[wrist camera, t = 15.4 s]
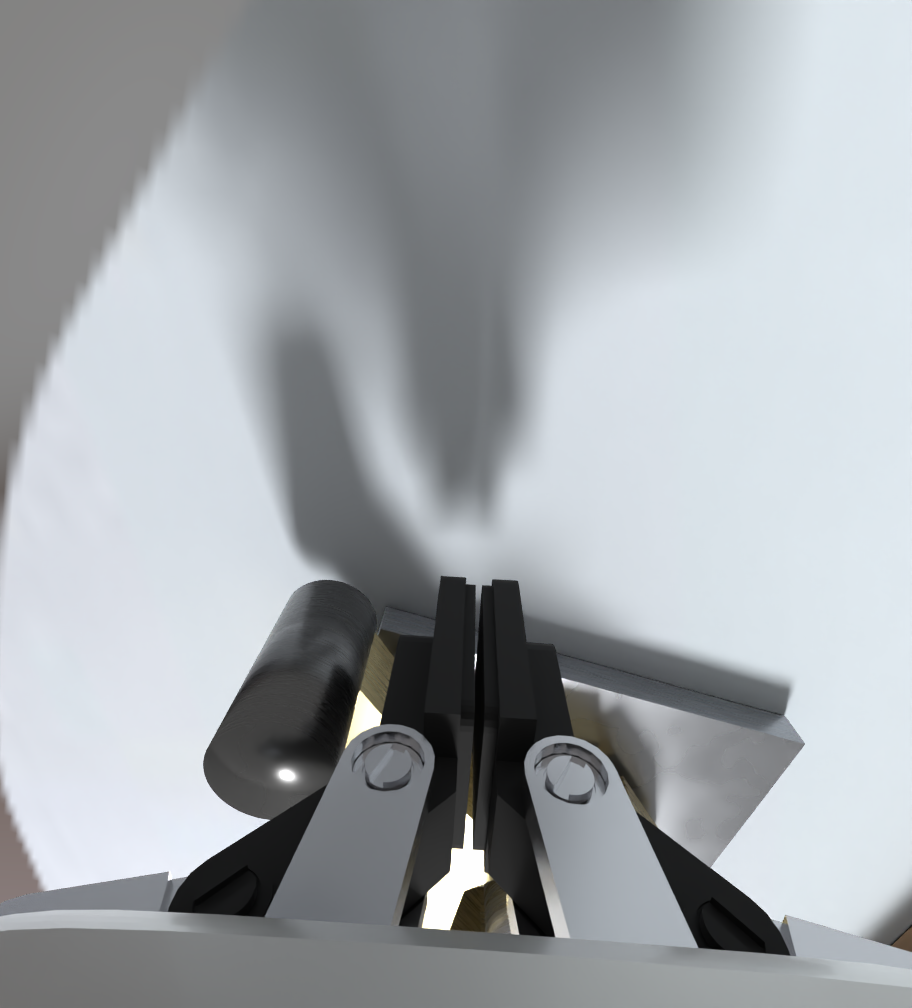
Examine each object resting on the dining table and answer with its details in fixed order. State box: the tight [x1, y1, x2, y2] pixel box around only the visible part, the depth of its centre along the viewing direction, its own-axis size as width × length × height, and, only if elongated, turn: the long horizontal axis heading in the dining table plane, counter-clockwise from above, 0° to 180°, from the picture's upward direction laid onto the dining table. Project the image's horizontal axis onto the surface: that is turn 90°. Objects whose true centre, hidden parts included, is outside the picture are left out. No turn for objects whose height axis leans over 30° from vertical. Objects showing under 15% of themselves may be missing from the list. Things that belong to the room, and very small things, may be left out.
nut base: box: [377, 606, 805, 934], centre depth 14 cm, size 12×12×6 cm
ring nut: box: [203, 580, 658, 932], centre depth 13 cm, size 14×8×4 cm, turn 32°
